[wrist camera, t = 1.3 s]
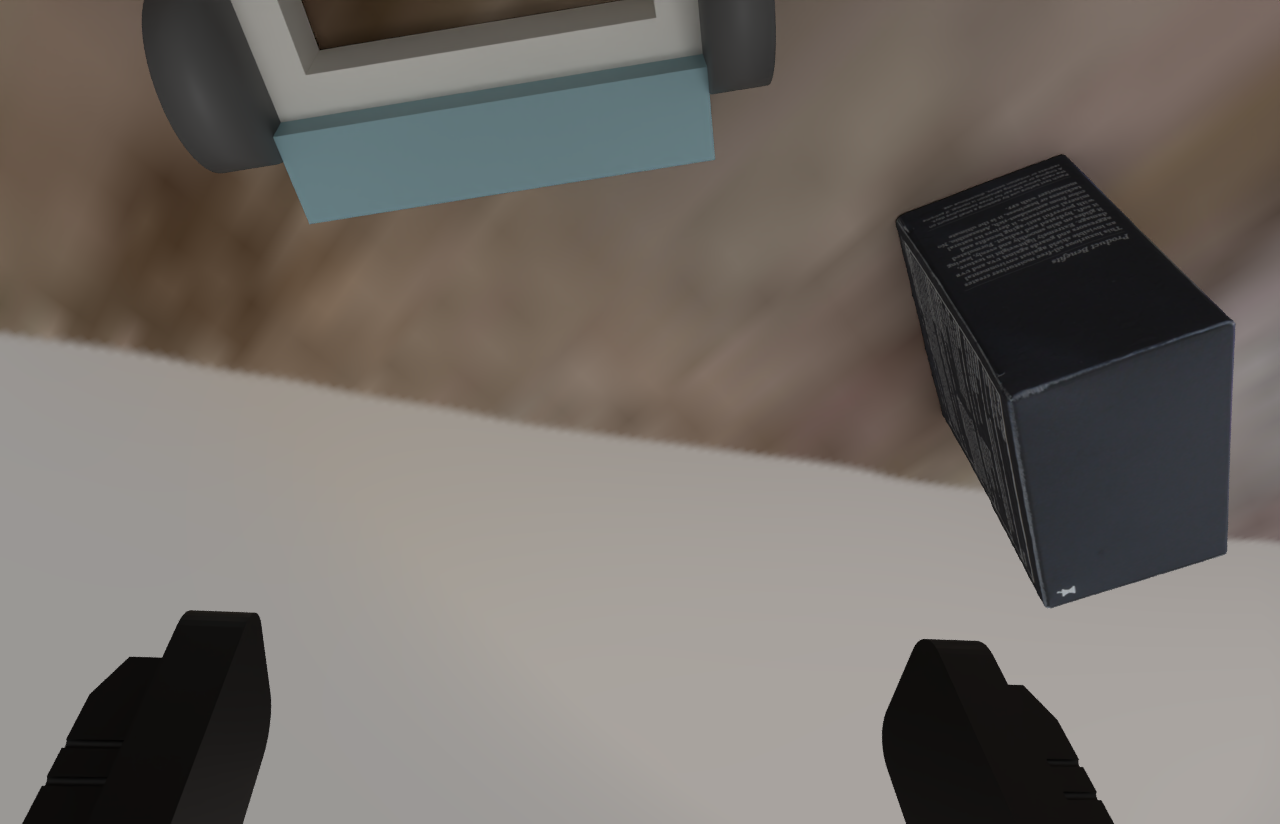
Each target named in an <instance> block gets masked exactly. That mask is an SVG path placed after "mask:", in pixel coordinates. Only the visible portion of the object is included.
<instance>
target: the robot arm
mask: <svg viewBox="0 0 1280 824" xmlns="http://www.w3.org/2000/svg"><path fill="white" fill-rule="evenodd" d="M270 718H271V695H270V688H269V679H268V672H267V664H266V656H265V650H264V641H263V634H262V626H261V620H260V617H259V615H258V614H257V613H247V612H246V613H245V612H221V611H193V610H190V611H187V612H186V613H185V614H184V615H183V616H182V617H181V619H180V621H179V623H178V624H177V627H176V629H175V631H174V633H173V635H172V637H171V640H170V642H169V644H168V646H167V648H166V650H165V653H164V655H163V657H162V658H153V657H129V658H128V659H127V660H126V661H125V662H124V663H122V665H120V666H119V667H118V668H117V669H116V670H115V671H114V672H113V673H112V674H111V675H110V676H109V677H108V678H107V679H105V680H104V681H103V682H102V683H101V684H100V685H99V686H98V687H97V688H96V689H95V690H94V691H93V692H92V693H91V694H90V695H89V697H88V699H87V700H86V702H85V704H84V706H83V708H82V710H81V712H80V714H79V716H78V718H77V720H76V721H75V723H74V726H73V727H72V729H71V731H70V733H69V735H68V737H67V739H66V740H67V742H66V746H65V748H61V750H60V753H59V754H58V756H57V758H56V760H55V762H54V764H53V766H52V768H51V769H50V771H49V773H48V775H47V782H46V785H45V786H42V787H41V789H40V791H39V792H38V795H37V796H36V798H35V800H34V802H33V804H32V806H31V808H30V810H29V812H28V814H27V816H26V817H25V819H24V822H23V823H22V824H243V821H244V818H245V815H246V811H247V808H248V804H249V802H250V798H251V794H252V792H253V788H254V785H255V782H256V779H257V775H258V772H259V769H260V765H261V762H262V759H263V756H264V752H265V748H266V743H267V739H268V733H269V727H270ZM882 745H883V753H884V759H885V763H886V766H887V769H888V772H889V775H890V778H891V781H892V784H893V787H894V790H895V793H896V796H897V799H898V801H899V804H900V807H901V810H902V813H903V816H904V819H905V822H906V824H1114V823H1113V821H1112V819H1111V817H1110V816H1109V814H1108V812H1107V810H1106V808H1105V806H1104V804H1103V803H1102V801H1101V800H1097V797H1096V790H1095V788H1094V786H1093V784H1092V782H1091V781H1090V779H1089V777H1088V775H1087V773H1086V772H1085V770H1084V768H1083V767H1080V766H1079V764H1078V760H1079V759H1078V757H1077V755H1076V754H1075V751H1074V750H1073V748H1072V746H1071V744H1070V742H1069V741H1068V739H1067V737H1066V735H1065V733H1064V731H1063V729H1062V728H1061V726H1060V724H1059V722H1058V720H1057V719H1056V718H1055V717H1054V716H1053V715H1052V714H1051V713H1050V712H1049V711H1048V710H1047V709H1046V708H1045V707H1044V706H1043V705H1042V704H1041V703H1040V702H1039V701H1038V700H1037V699H1036V698H1035V697H1034V696H1033V695H1032V694H1031V693H1030V692H1029V691H1028V690H1027V689H1026V688H1025V686H1023V685H1008V684H1007V682H1006V680H1005V678H1004V676H1003V674H1002V672H1001V670H1000V668H999V666H998V664H997V662H996V660H995V658H994V656H993V654H992V653H991V651H990V650H989V648H988V647H987V646H986V645H985V644H983V643H982V642H979V641H964V640H963V641H962V640H936V639H922V640H920V641H919V642H917V644H916V645H915V647H914V649H913V651H912V653H911V655H910V658H909V660H908V662H907V665H906V667H905V670H904V672H903V674H902V676H901V679H900V681H899V683H898V686H897V688H896V690H895V693H894V695H893V697H892V700H891V702H890V704H889V706H888V709H887V711H886V714H885V717H884V721H883V728H882Z"/></svg>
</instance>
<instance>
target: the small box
mask: <svg viewBox="0 0 1280 824" xmlns="http://www.w3.org/2000/svg"><path fill="white" fill-rule="evenodd" d="M896 226H897V229H898V232H899V237H900V242H901V247H902V251H903V255H904V260H905V263H906V267H907V272H908V276H909V279H910V284H911V288H912V296H913V298H914V301H915V305H916V309H917V314H918V317H919V321H920V325H921V329H922V334H923V338H924V342H925V350H926V352H927V355H928V360H929V362H930V367H931V370H932V376H933V379H934V383H935V387H936V390H937V394H938V397H939V401H940V405H941V408H942V415H943V417H944V418H945V420H946V422H947V423H948V425H949V426H950V428H951V430H952V432H953V434H954V436H955V438H956V440H957V441H958V443H959V444H960V446H961V448H962V450H963V452H964V453H965V455H966V457H967V459H968V460H969V462H970V464H971V466H972V468H973V470H974V472H975V473H976V475H977V477H978V479H979V481H980V483H981V485H982V487H983V488H984V490H985V492H986V494H987V495H988V497H989V499H990V501H991V504H992V507H993V509H994V511H995V513H996V514H997V516H998V518H999V520H1000V522H1001V524H1002V526H1003V528H1004V530H1005V531H1006V533H1007V535H1008V537H1009V539H1010V541H1011V543H1012V545H1013V547H1014V548H1015V551H1016V553H1017V554H1018V557H1019V559H1020V560H1021V562H1022V563H1023V566H1024V568H1025V570H1026V572H1027V574H1028V576H1029V578H1030V580H1031V582H1032V583H1033V585H1034V587H1035V589H1036V591H1037V594H1038V595H1039V597H1040V599H1041V600H1042V602H1043V604H1044V606H1045V607H1047V608H1054V607H1057V606H1060V605H1063V604H1066V603H1069V602H1073V601H1076V600H1079V599H1082V598H1085V597H1089V596H1091V595H1096V594H1099V593H1101V592H1105V591H1108V590H1112V589H1115V588H1118V587H1121V586H1125V585H1128V584H1131V583H1135V582H1138V581H1141V580H1145V579H1148V578H1150V577H1154V576H1157V575H1159V574H1164V573H1167V572H1170V571H1174V570H1177V569H1180V568H1183V567H1187V566H1190V565H1193V564H1196V563H1199V562H1203V561H1206V560H1209V559H1212V558H1216V557H1219V556H1222V555H1224V554H1226V552H1227V533H1228V501H1229V469H1230V439H1231V415H1232V389H1233V367H1234V345H1235V322H1234V321H1233V320H1232V319H1230V318H1229V317H1228V316H1227V315H1226V314H1225V313H1224V312H1223V311H1222V310H1221V309H1220V308H1219V307H1218V306H1217V305H1216V304H1215V303H1214V302H1213V301H1212V300H1211V299H1210V298H1209V297H1208V296H1207V295H1206V294H1205V293H1204V292H1203V291H1202V290H1201V289H1200V288H1199V287H1198V286H1196V285H1195V284H1194V283H1193V282H1192V281H1191V280H1190V279H1189V278H1188V277H1187V276H1186V275H1185V274H1184V273H1183V272H1182V271H1181V270H1180V269H1179V268H1178V267H1177V266H1176V265H1175V264H1174V263H1173V262H1172V261H1171V260H1170V259H1169V258H1168V257H1167V256H1166V255H1165V254H1164V253H1163V252H1162V251H1161V250H1160V249H1159V248H1158V247H1157V246H1156V245H1155V244H1154V243H1153V242H1152V241H1151V240H1150V239H1149V238H1148V237H1147V236H1145V235H1144V234H1143V233H1142V232H1141V231H1140V230H1139V229H1138V228H1137V227H1136V226H1135V225H1134V224H1133V223H1132V222H1131V220H1130V219H1129V218H1128V217H1127V216H1125V215H1124V214H1123V213H1122V212H1121V211H1120V210H1119V209H1118V208H1117V207H1116V206H1115V205H1114V204H1113V203H1112V202H1111V201H1110V200H1109V199H1108V198H1107V197H1106V196H1105V195H1104V194H1103V192H1102V191H1101V190H1099V189H1098V188H1097V187H1096V185H1095V184H1094V183H1093V182H1092V181H1091V180H1090V179H1089V178H1088V177H1087V176H1086V175H1085V174H1084V173H1083V172H1082V171H1081V170H1080V169H1079V168H1078V167H1077V166H1076V165H1074V164H1073V163H1072V162H1071V161H1070V160H1069V159H1068V158H1067V157H1066V156H1065V155H1060V156H1057V157H1054V158H1051V159H1048V160H1046V161H1043V162H1040V163H1038V164H1034V165H1032V166H1030V167H1027V168H1024V169H1021V170H1019V171H1016V172H1014V173H1011V174H1008V175H1005V176H1003V177H1000V178H997V179H995V180H992V181H989V182H987V183H984V184H981V185H979V186H976V187H974V188H971V189H969V190H966V191H963V192H961V193H958V194H955V195H953V196H950V197H948V198H945V199H942V200H940V201H938V202H934V203H932V204H929V205H927V206H924V207H921V208H919V209H916V210H914V211H911V212H908V213H906V214H904V215H901V216H900V217H899V218H898V219H897V221H896Z"/></svg>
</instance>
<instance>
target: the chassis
mask: <svg viewBox="0 0 1280 824" xmlns="http://www.w3.org/2000/svg"><path fill="white" fill-rule="evenodd" d="M142 34H143V42H144V49H145V54H146V59H147V64H148V67H149V71H150V75H151V78H152V81H153V84H154V87H155V90H156V93H157V95H158V98H159V100H160V103H161V105H162V108H163V110H164V112H165V114H166V116H167V118H168V120H169V122H170V124H171V126H172V128H173V130H174V131H175V133H176V135H177V136H178V138H179V139H180V141H181V142H182V144H183V145H184V146H185V148H186V149H187V150H188V152H189V153H190V154H191V155H192V156H193V158H194V159H196V160H197V161H198V162H199V163H200V164H201V165H202V166H204V167H205V168H206V169H208V170H210V171H212V172H215V173H227V172H233V171H239V170H245V169H251V168H258V167H264V166H270V165H276V164H280V163H282V162H284V165H285V167H286V169H287V172H288V174H289V176H290V179H291V181H292V184H293V186H294V188H295V191H296V193H297V195H298V198H299V200H300V202H301V205H302V207H303V210H304V212H305V214H306V217H307V219H308V221H309V224H313V223H320V222H326V221H332V220H338V219H345V218H351V217H357V216H364V215H370V214H376V213H382V212H389V211H395V210H401V209H408V208H414V207H420V206H427V205H433V204H439V203H445V202H452V201H458V200H464V199H471V198H477V197H483V196H489V195H496V194H502V193H508V192H515V191H521V190H527V189H534V188H540V187H546V186H552V185H559V184H565V183H571V182H578V181H584V180H590V179H597V178H603V177H609V176H615V175H622V174H628V173H634V172H641V171H647V170H653V169H659V168H666V167H672V166H678V165H685V164H691V163H697V162H704V161H710V160H715V153H714V141H713V129H712V118H711V106H710V94H717V93H723V92H729V91H735V90H742V89H748V88H754V87H760V86H766V85H769V84H770V83H771V81H772V77H773V72H774V65H775V48H776V24H775V1H774V0H621V1H615V2H609V3H603V4H597V5H591V6H585V7H579V8H573V9H567V10H560V11H554V12H548V13H542V14H536V15H530V16H524V17H518V18H512V19H506V20H500V21H494V22H488V23H482V24H476V25H470V26H464V27H457V28H451V29H445V30H439V31H433V32H427V33H421V34H415V35H409V36H403V37H397V38H391V39H385V40H379V41H373V42H367V43H360V44H354V45H348V46H342V47H336V48H330V49H324V50H319V48H318V45H317V43H316V40H315V37H314V34H313V32H312V29H311V26H310V23H309V21H308V18H307V15H306V12H305V10H304V7H303V4H302V1H301V0H144V3H143V10H142ZM709 93H710V94H709Z"/></svg>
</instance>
